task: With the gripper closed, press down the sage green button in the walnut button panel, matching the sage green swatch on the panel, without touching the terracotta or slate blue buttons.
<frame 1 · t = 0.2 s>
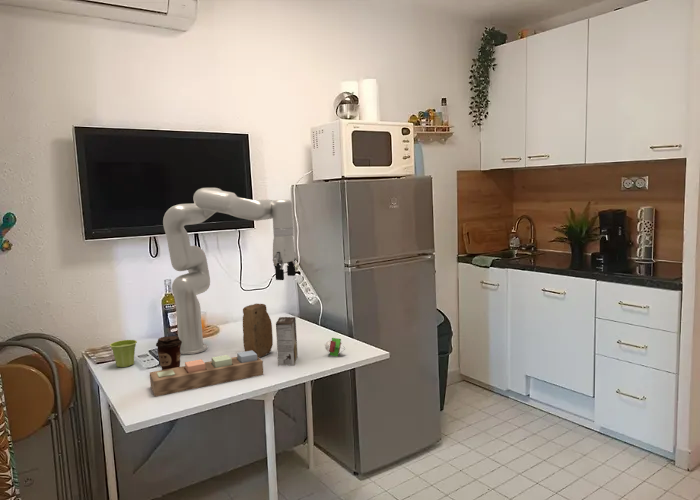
hand: (285, 277, 199), 31 cm above the table, tool pointing down, fingers open, 9 cm apart
sage button: (221, 363, 182), point 5 cm above the table, slide at 0.0 cm
button panel: (208, 380, 180), on the table
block: (259, 355, 207), on the table
coffee cup: (170, 373, 189), on the table
slate button: (247, 359, 186), point 5 cm above the table, slide at 0.0 cm
plant pot: (125, 365, 200), on the table
geometric puzzle: (335, 355, 203), on the table
terracotta button: (195, 368, 177), point 5 cm above the table, slide at 0.0 cm
coffee box: (288, 362, 197), on the table
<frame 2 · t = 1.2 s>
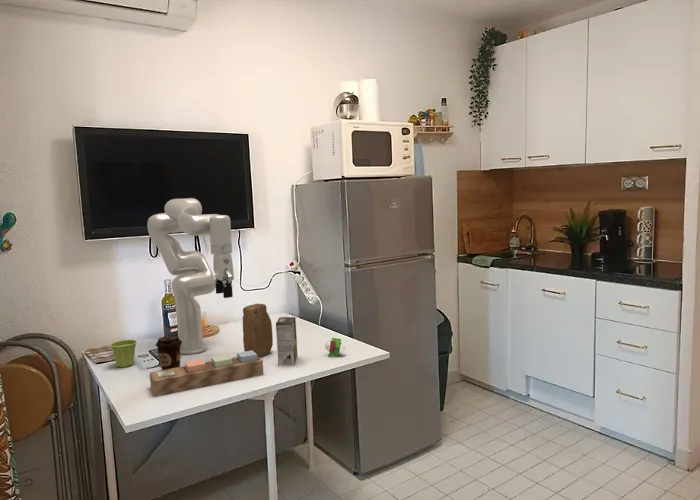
hand: (224, 295, 193), 26 cm above the table, tool pointing down, fingers open, 9 cm apart
nothing on the table moved.
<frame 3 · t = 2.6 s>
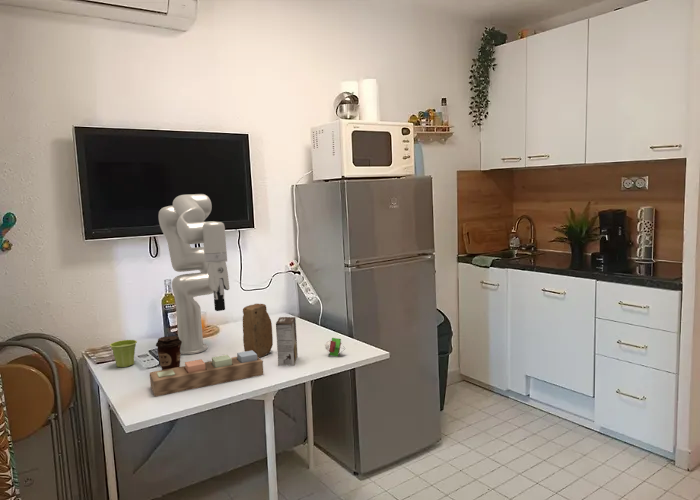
hand: (220, 310, 183), 23 cm above the table, tool pointing down, fingers closed
nothing on the table moved.
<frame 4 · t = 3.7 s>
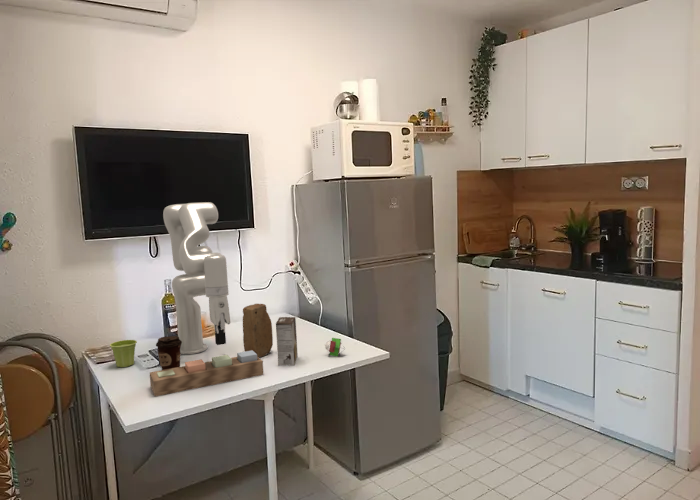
hand: (220, 343, 180), 12 cm above the table, tool pointing down, fingers closed
nothing on the table moved.
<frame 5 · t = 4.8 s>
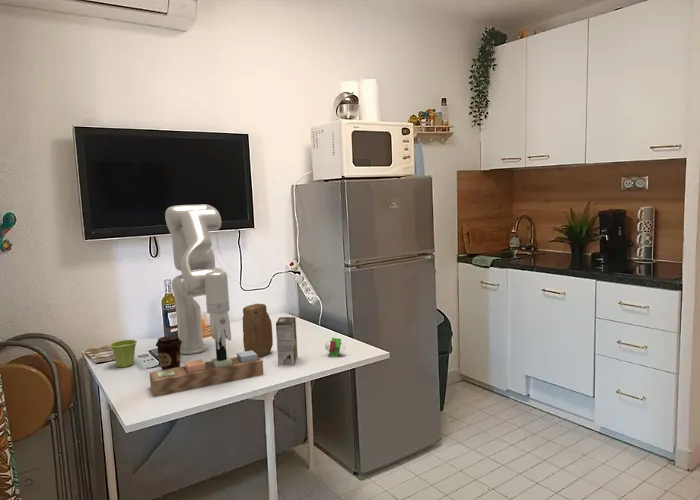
hand: (221, 359, 181), 7 cm above the table, tool pointing down, fingers closed
sage button: (222, 365, 182), point 5 cm above the table, slide at 0.5 cm, touching gripper
everything else where it was.
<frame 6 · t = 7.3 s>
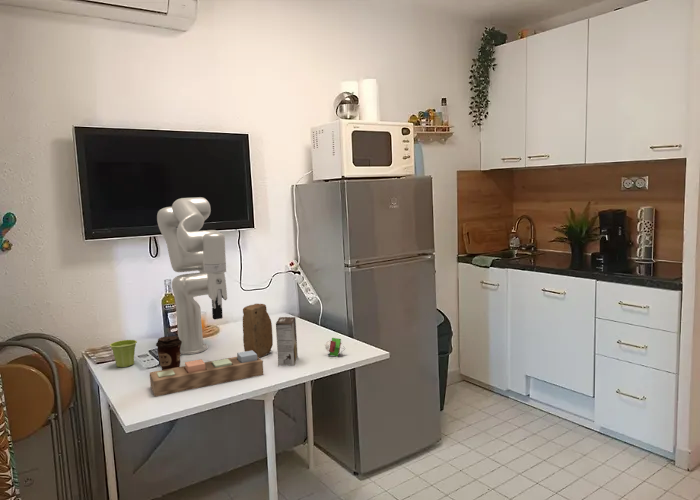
hand: (217, 318, 187), 19 cm above the table, tool pointing down, fingers closed
sage button: (222, 367, 182), point 4 cm above the table, slide at 1.4 cm
everything else where it was.
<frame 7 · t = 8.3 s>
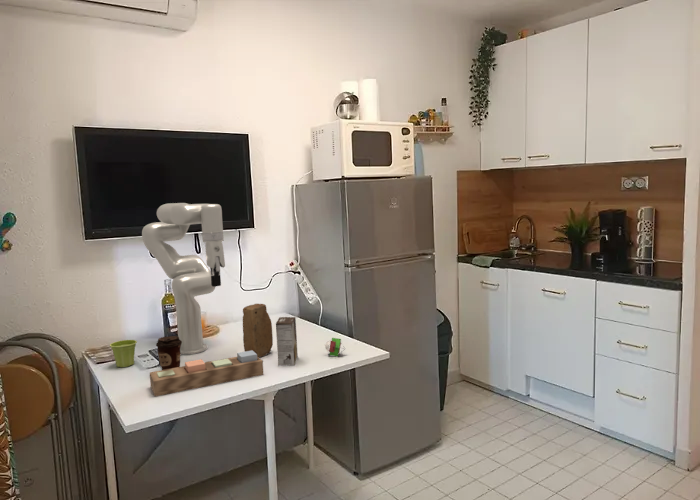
hand: (216, 285, 198), 29 cm above the table, tool pointing down, fingers closed
nothing on the table moved.
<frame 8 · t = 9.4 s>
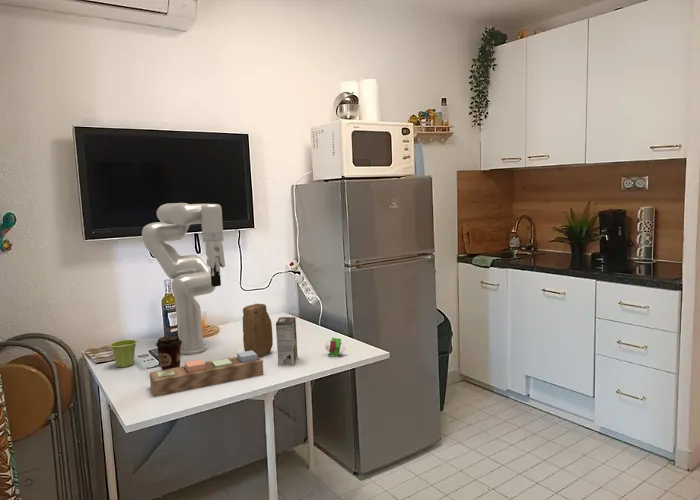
hand: (216, 285, 198), 29 cm above the table, tool pointing down, fingers closed
nothing on the table moved.
at the end: sage button slide at 1.4 cm; terracotta button slide at 0.0 cm; slate button slide at 0.0 cm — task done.
